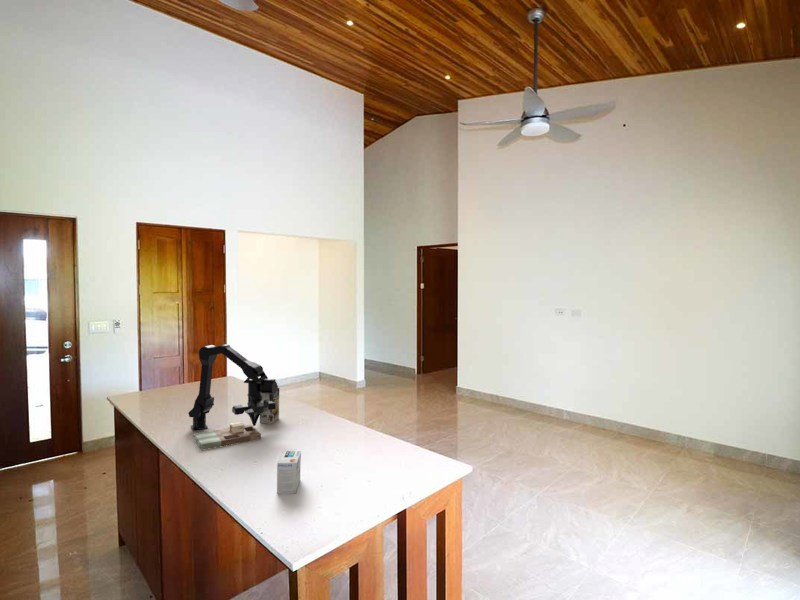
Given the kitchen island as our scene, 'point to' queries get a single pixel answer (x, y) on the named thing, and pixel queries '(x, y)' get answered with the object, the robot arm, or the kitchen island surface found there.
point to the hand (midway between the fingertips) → (254, 425)
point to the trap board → (225, 437)
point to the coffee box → (270, 415)
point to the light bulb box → (288, 472)
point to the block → (237, 427)
